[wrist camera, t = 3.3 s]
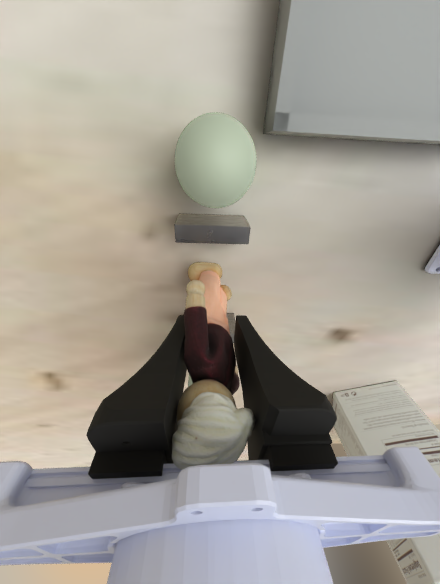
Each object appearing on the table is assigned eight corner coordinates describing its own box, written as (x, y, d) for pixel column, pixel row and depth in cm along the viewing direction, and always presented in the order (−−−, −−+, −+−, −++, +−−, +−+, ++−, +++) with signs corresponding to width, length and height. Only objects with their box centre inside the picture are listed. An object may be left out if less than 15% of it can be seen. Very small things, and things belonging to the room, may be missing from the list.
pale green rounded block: (245, 126, 14) (262, 115, 9) (239, 194, 16) (251, 209, 12) (182, 122, 13) (171, 109, 9) (185, 192, 16) (177, 206, 11)
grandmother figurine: (166, 263, 17) (77, 450, 6) (208, 240, 16) (191, 411, 5) (215, 327, 20) (214, 516, 10) (251, 311, 19) (296, 501, 9)
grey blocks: (243, 215, 17) (250, 226, 14) (232, 322, 23) (236, 343, 20) (179, 213, 16) (174, 224, 14) (185, 322, 22) (182, 343, 20)
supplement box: (387, 411, 35) (506, 583, 21) (330, 422, 36) (409, 593, 22) (398, 378, 30) (566, 576, 16) (332, 391, 31) (436, 589, 17)
